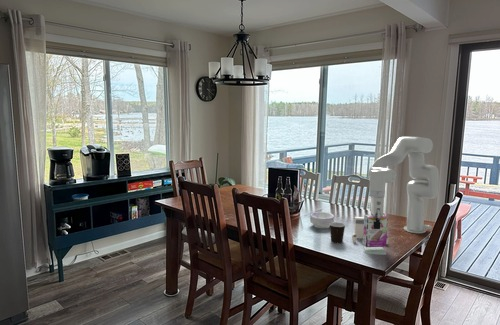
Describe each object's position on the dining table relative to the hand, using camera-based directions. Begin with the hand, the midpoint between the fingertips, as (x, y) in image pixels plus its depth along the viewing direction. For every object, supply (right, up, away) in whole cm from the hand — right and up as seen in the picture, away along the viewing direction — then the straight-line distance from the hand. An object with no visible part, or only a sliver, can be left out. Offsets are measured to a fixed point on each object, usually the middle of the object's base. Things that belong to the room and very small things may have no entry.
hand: (375, 226), depth 178 cm
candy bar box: (0, -11, +1) cm, 11 cm away
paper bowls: (-19, -8, +43) cm, 48 cm away
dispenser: (+2, -11, +17) cm, 21 cm away
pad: (0, -13, +2) cm, 13 cm away
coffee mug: (-17, -12, +15) cm, 26 cm away
